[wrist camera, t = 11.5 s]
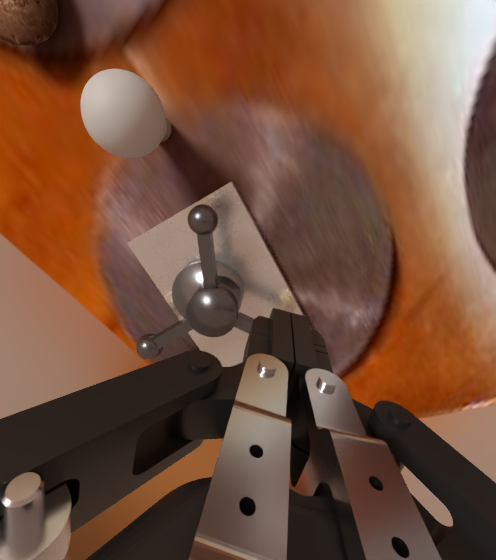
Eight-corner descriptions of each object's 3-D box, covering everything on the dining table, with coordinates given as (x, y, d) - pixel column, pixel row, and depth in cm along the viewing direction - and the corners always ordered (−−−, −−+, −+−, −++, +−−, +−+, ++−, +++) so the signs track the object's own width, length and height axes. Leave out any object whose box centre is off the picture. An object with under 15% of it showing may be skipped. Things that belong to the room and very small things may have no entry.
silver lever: (300, 193, 29) (306, 199, 24) (301, 334, 35) (306, 365, 29) (127, 205, 31) (96, 212, 26) (155, 336, 37) (134, 365, 32)
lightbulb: (147, 168, 32) (86, 168, 22) (124, 107, 30) (44, 75, 20) (199, 150, 31) (160, 141, 20) (178, 86, 29) (123, 40, 19)
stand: (311, 327, 37) (313, 335, 35) (218, 365, 40) (215, 374, 39) (233, 181, 31) (230, 181, 30) (133, 240, 35) (125, 244, 33)
